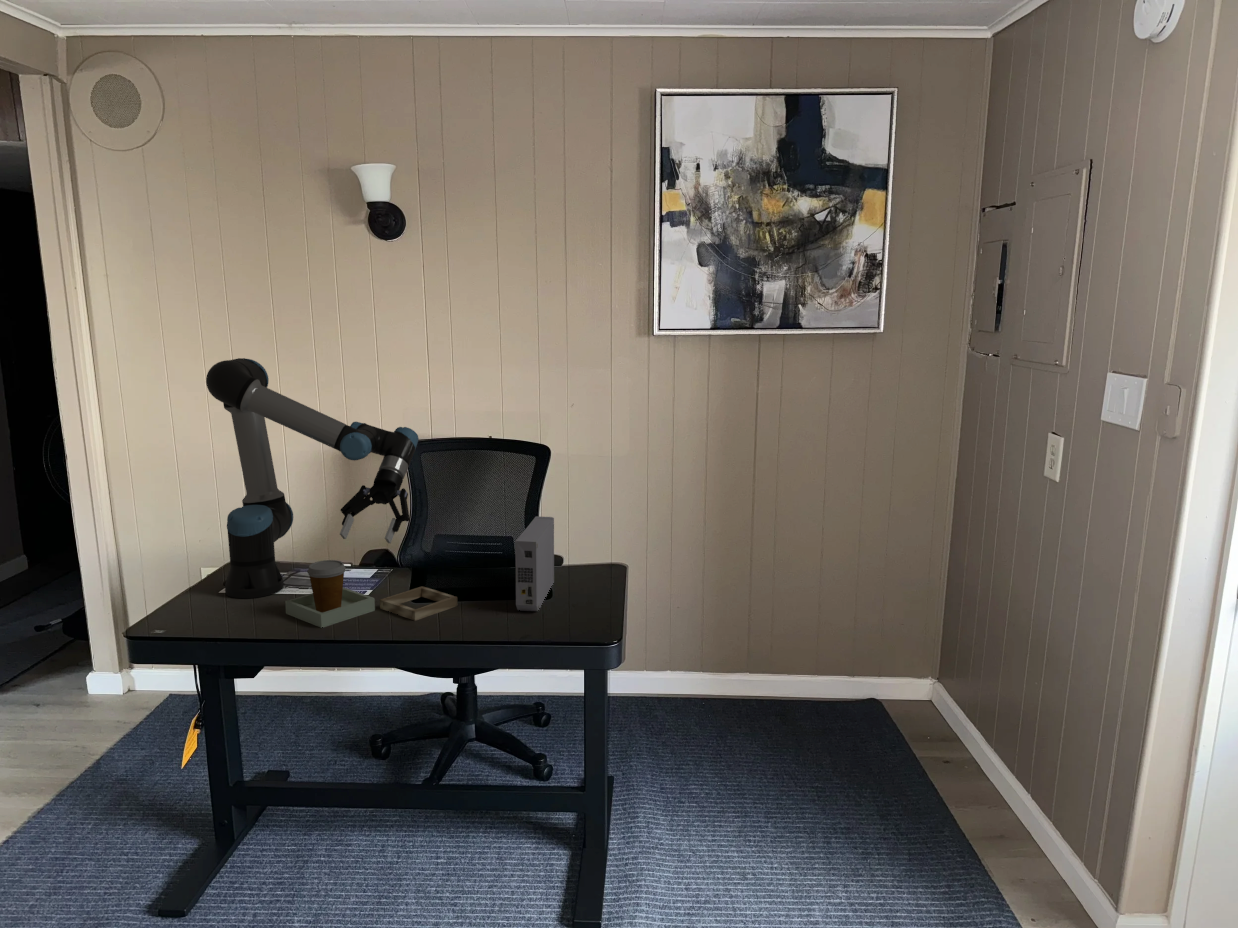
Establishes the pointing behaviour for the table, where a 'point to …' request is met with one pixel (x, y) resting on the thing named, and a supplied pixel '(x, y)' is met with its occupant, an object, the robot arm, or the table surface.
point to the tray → (350, 608)
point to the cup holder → (442, 604)
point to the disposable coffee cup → (327, 584)
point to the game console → (534, 563)
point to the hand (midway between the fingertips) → (364, 538)
